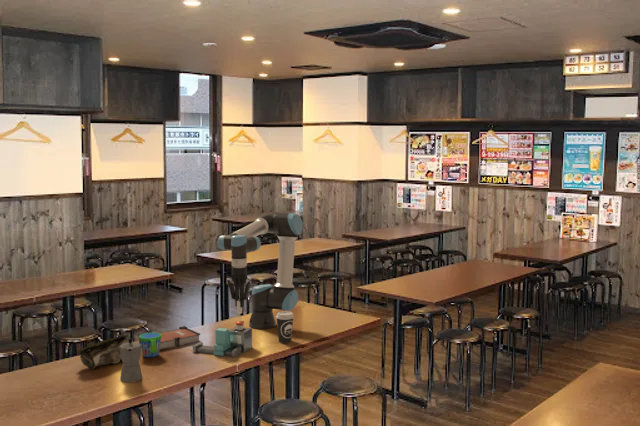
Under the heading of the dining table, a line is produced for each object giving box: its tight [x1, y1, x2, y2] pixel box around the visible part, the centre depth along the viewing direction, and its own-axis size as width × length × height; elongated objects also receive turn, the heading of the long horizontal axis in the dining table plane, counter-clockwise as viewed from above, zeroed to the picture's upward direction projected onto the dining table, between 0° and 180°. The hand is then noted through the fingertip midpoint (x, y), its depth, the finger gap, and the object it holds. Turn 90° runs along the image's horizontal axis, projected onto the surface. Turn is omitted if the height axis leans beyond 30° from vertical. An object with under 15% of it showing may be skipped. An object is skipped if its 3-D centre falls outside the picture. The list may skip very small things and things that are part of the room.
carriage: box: [213, 327, 231, 357], centre depth 318 cm, size 8×5×12 cm, turn 160°
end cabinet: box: [229, 326, 253, 354], centre depth 325 cm, size 9×9×10 cm
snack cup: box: [138, 332, 162, 358], centre depth 315 cm, size 16×10×10 cm
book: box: [138, 325, 201, 351], centre depth 336 cm, size 26×18×5 cm
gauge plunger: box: [235, 320, 245, 331], centre depth 324 cm, size 4×4×6 cm
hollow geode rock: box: [76, 334, 130, 370], centre depth 302 cm, size 28×13×15 cm
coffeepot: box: [119, 338, 143, 384], centre depth 283 cm, size 15×9×18 cm, turn 13°
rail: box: [192, 341, 242, 358], centre depth 320 cm, size 7×23×3 cm, turn 70°
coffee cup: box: [275, 310, 295, 344], centre depth 338 cm, size 10×10×15 cm
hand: (239, 313), depth 324 cm, fingers closed
